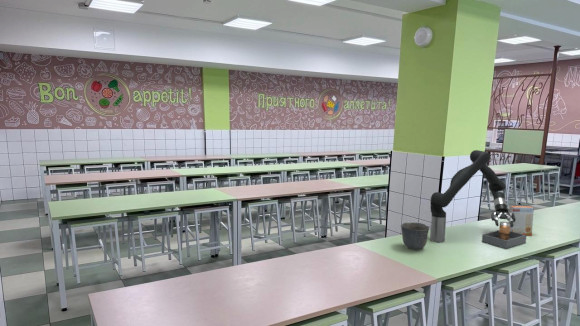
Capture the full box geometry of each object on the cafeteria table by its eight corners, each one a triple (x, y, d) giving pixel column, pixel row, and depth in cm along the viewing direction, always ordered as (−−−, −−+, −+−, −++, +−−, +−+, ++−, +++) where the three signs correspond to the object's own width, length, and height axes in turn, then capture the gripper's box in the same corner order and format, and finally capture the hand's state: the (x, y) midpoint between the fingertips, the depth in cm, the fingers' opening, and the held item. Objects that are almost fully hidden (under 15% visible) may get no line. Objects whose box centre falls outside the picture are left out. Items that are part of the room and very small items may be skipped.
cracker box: (527, 233, 262) (529, 205, 259) (532, 236, 256) (534, 207, 253) (507, 232, 263) (509, 205, 261) (511, 235, 257) (513, 207, 255)
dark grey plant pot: (431, 254, 219) (432, 230, 218) (401, 252, 223) (402, 229, 221) (426, 244, 237) (427, 222, 235) (398, 243, 240) (399, 221, 238)
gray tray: (505, 249, 229) (506, 241, 228) (481, 242, 242) (482, 234, 242) (525, 243, 241) (526, 235, 240) (501, 236, 255) (502, 229, 254)
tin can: (500, 242, 240) (501, 223, 238) (497, 239, 245) (498, 221, 244) (510, 243, 238) (511, 224, 237) (507, 240, 244) (508, 221, 242)
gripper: (490, 202, 249) (494, 222, 240) (513, 203, 246) (518, 224, 236) (488, 208, 255) (491, 228, 245) (510, 209, 251) (515, 229, 242)
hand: (504, 226), depth 241 cm, fingers open, 8 cm apart
